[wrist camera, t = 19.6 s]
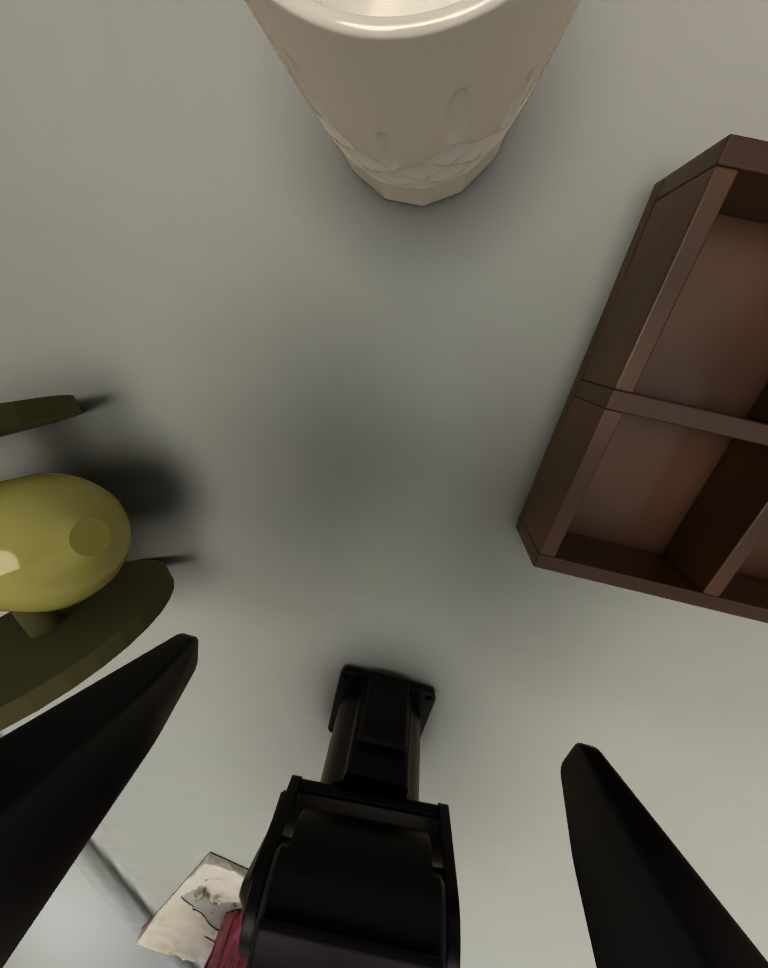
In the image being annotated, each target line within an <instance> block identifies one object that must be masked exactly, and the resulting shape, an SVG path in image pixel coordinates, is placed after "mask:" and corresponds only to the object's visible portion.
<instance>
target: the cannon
mask: <svg viewBox="0 0 768 968" xmlns="http://www.w3.org/2000/svg"><path fill="white" fill-rule="evenodd" d="M82 413H83V412H82V410H81V409H80V407H79V405H78V403H77V401H76V399H75V398H74V396H73V395H60V396H50V397H41V398H34V399H27V400H20V401H13V402H7V403H1V404H0V437H1V436H5V435H9V434H13V433H17V432H20V431H24V430H28V429H32V428H35V427H39V426H43V425H46V424H50V423H54V422H57V421H61V420H64V419H68V418H71V417H74V416H77V415H80V414H82ZM131 541H132V529H131V525H130V520H129V518H128V515H127V513H126V511H125V509H124V508H123V506H122V505H121V503H120V502H119V501H118V500H117V499H116V498H115V497H114V496H113V495H112V494H111V493H109V492H108V491H106V490H105V489H103V488H102V487H100V486H99V485H97V484H96V483H94V482H91V481H89V480H87V479H85V478H82V477H78V476H74V475H70V474H63V473H42V474H33V475H29V476H24V477H19V478H15V479H10V480H5V481H0V611H10V612H9V613H7V614H5V615H3V616H2V617H0V731H1V730H3V729H5V728H7V727H8V726H10V725H12V724H14V723H16V722H18V721H20V720H21V719H23V718H25V717H27V716H29V715H31V714H32V713H34V712H36V711H38V710H39V709H41V708H43V707H44V706H46V705H47V704H49V703H51V702H52V701H54V700H55V699H57V698H59V697H60V696H62V695H63V694H65V693H67V692H68V691H70V690H71V689H73V688H74V687H76V686H77V685H78V684H80V683H81V682H83V681H84V680H85V679H87V678H88V677H90V676H91V675H92V674H94V673H95V672H97V671H98V670H99V669H101V668H102V667H103V666H105V665H106V664H107V663H108V662H110V661H111V660H112V659H113V658H115V657H116V656H117V655H118V654H119V653H121V652H122V651H123V650H124V649H126V648H127V647H128V646H129V645H130V644H131V643H132V642H133V641H134V640H135V639H136V638H137V637H138V636H140V635H141V634H142V633H143V632H144V631H145V630H146V629H147V628H148V627H149V626H150V624H151V623H152V622H153V621H154V620H155V619H156V618H157V616H158V615H159V614H160V613H161V612H162V610H163V609H164V607H165V606H166V604H167V602H168V601H169V599H170V597H171V595H172V592H173V589H174V580H173V578H172V576H171V574H170V572H169V570H168V569H167V567H166V566H165V564H164V563H162V562H160V561H157V560H138V561H131V562H127V563H125V561H126V559H127V556H128V554H129V551H130V547H131Z"/></svg>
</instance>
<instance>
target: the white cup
mask: <svg viewBox="0 0 768 968" xmlns="http://www.w3.org/2000/svg"><path fill="white" fill-rule="evenodd" d="M245 2H246V4H247V5H248V7H249V9H250V10H251V12H252V13H253V15H254V17H255V18H256V20H257V22H258V23H259V25H260V27H261V28H262V30H263V31H264V33H265V35H266V36H267V38H268V40H269V41H270V43H271V45H272V46H273V48H274V50H275V51H276V53H277V55H278V56H279V58H280V59H281V61H282V63H283V64H284V66H285V68H286V69H287V71H288V73H289V74H290V76H291V78H292V79H293V81H294V82H295V84H296V86H297V87H298V89H299V91H300V92H301V94H302V95H303V97H304V99H305V100H306V102H307V103H308V104H309V106H310V107H311V108H312V110H313V111H314V113H315V114H316V116H317V118H318V119H319V121H320V122H321V124H322V126H323V127H324V129H325V130H326V132H327V133H328V135H329V136H330V137H331V138H332V140H333V141H334V142H335V144H336V145H337V146H338V147H339V149H340V150H341V151H342V152H343V154H344V155H345V157H346V159H347V161H348V163H349V164H350V166H351V168H352V170H353V171H354V172H355V173H356V174H357V175H358V176H359V177H360V178H362V179H363V180H364V181H365V182H366V183H367V184H368V185H370V186H371V187H372V188H373V189H374V190H375V191H377V192H378V193H379V194H380V195H381V196H382V197H383V198H385V199H388V200H393V201H398V202H403V203H409V204H414V205H419V206H425V205H427V204H430V203H433V202H436V201H438V200H441V199H444V198H447V197H450V196H452V195H455V194H458V193H461V192H462V191H463V190H464V189H465V188H466V187H467V186H468V185H469V184H470V183H471V182H472V181H473V180H474V179H475V178H476V177H477V176H478V175H479V174H480V173H481V172H482V171H483V170H484V169H485V168H486V167H487V166H488V164H489V163H490V162H491V161H492V160H493V159H494V158H495V157H496V155H497V153H498V151H499V148H500V146H501V144H502V142H503V140H504V137H505V135H506V133H507V131H508V129H509V128H510V127H511V125H512V124H513V122H514V121H515V119H516V118H517V116H518V115H519V113H520V112H521V110H522V109H523V107H524V105H525V104H526V102H527V100H528V98H529V96H530V94H531V93H532V91H533V89H534V87H535V85H536V83H537V82H538V80H539V78H540V76H541V74H542V72H543V70H544V68H545V66H546V65H547V63H548V61H549V59H550V58H551V56H552V54H553V52H554V51H555V49H556V47H557V45H558V43H559V42H560V40H561V38H562V36H563V34H564V32H565V30H566V28H567V26H568V24H569V22H570V20H571V18H572V16H573V14H574V12H575V10H576V8H577V6H578V4H579V2H580V0H245Z"/></svg>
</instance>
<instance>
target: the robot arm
mask: <svg viewBox="0 0 768 968" xmlns="http://www.w3.org/2000/svg"><path fill="white" fill-rule="evenodd" d="M197 661H198V639H197V637H195V636H191V635H187V634H183V633H181V634H178V635H176V636H174V637H172V638H170V639H169V640H167V641H165V642H164V643H162V644H160V645H158V646H157V647H155V648H153V649H152V650H150V651H148V652H147V653H145V654H143V655H141V656H140V657H138V658H136V659H135V660H133V661H131V662H129V663H128V664H126V665H124V666H123V667H121V668H119V669H118V670H116V671H114V672H112V673H111V674H109V675H107V676H106V677H104V678H102V679H100V680H99V681H97V682H95V683H94V684H92V685H90V686H88V687H87V688H85V689H83V690H82V691H80V692H78V693H77V694H75V695H73V696H71V697H70V698H68V699H66V700H65V701H63V702H61V703H59V704H58V705H56V706H54V707H53V708H51V709H49V710H48V711H46V712H44V713H42V714H41V715H39V716H37V717H36V718H34V719H32V720H30V721H29V722H27V723H25V724H24V725H22V726H20V727H18V728H17V729H15V730H13V731H12V732H10V733H8V734H7V735H5V736H3V737H1V738H0V968H3V966H4V965H5V963H6V962H7V960H8V959H9V957H10V956H11V954H12V953H13V951H14V950H15V948H16V947H17V945H18V944H19V942H20V941H21V939H22V938H23V937H24V935H25V934H26V932H27V931H28V929H29V928H30V926H31V925H32V923H33V921H34V920H35V919H36V917H37V916H38V914H39V913H40V911H41V910H42V909H43V907H44V905H45V904H46V903H47V901H48V900H49V898H50V897H51V895H52V893H53V892H54V891H55V889H56V888H57V886H58V885H59V883H60V882H61V880H62V879H63V878H64V876H65V875H66V873H67V872H68V870H69V868H70V867H71V866H72V864H73V863H74V861H75V860H76V858H77V857H78V855H79V854H80V852H81V851H82V850H83V848H84V847H85V845H86V844H87V842H88V841H89V839H90V838H91V836H92V835H93V833H94V832H95V830H96V829H97V827H98V826H99V824H100V823H101V821H102V820H103V819H104V817H105V816H106V814H107V813H108V811H109V810H110V808H111V807H112V805H113V804H114V802H115V801H116V799H117V798H118V796H119V795H120V793H121V792H122V790H123V789H124V788H125V786H126V785H127V783H128V782H129V780H130V779H131V777H132V776H133V774H134V773H135V771H136V770H137V768H138V767H139V765H140V764H141V762H142V761H143V759H144V758H145V757H146V755H147V754H148V752H149V750H150V749H151V747H152V746H153V744H154V743H155V741H156V739H157V738H158V736H159V734H160V732H161V731H162V729H163V727H164V725H165V723H166V722H167V720H168V718H169V716H170V714H171V713H172V711H173V709H174V707H175V705H176V704H177V702H178V700H179V698H180V696H181V695H182V693H183V691H184V689H185V687H186V686H187V684H188V682H189V680H190V678H191V677H192V675H193V673H194V671H195V669H196V666H197ZM434 701H435V690H434V689H433V688H431V687H428V686H424V685H420V684H416V683H412V682H408V681H404V680H400V679H396V678H392V677H388V676H385V675H381V674H377V673H373V672H369V671H365V670H361V669H357V668H353V667H348V666H346V667H343V668H342V670H341V673H340V677H339V682H338V686H337V691H336V695H335V699H334V704H333V708H332V713H331V717H330V722H329V726H328V729H329V731H330V732H332V736H331V740H330V745H329V749H328V753H327V757H326V761H325V765H324V769H323V773H322V777H321V781H320V782H317V781H311V780H306V779H302V776H296V775H292V778H291V780H290V783H289V785H288V788H287V790H284V791H283V792H281V794H280V797H279V800H278V804H277V807H276V810H275V813H274V816H273V819H272V822H271V824H270V827H269V829H268V832H267V834H266V836H265V838H264V840H263V842H262V844H261V846H260V848H259V850H258V852H257V854H256V856H255V858H254V860H253V862H252V863H251V865H250V867H249V869H248V871H247V873H246V875H245V877H244V879H243V882H242V885H241V888H240V892H239V899H240V902H241V905H242V909H243V915H242V923H241V932H240V937H239V945H238V955H239V957H241V958H245V959H248V962H247V966H246V968H460V909H459V897H458V887H457V878H456V869H455V860H454V851H453V842H452V833H451V824H450V815H449V806H448V805H447V804H442V803H438V805H436V804H430V803H425V802H420V801H419V762H420V737H421V734H422V732H423V729H424V727H425V724H426V722H427V719H428V717H429V714H430V712H431V709H432V707H433V704H434ZM561 780H562V787H563V794H564V801H565V808H566V815H567V823H568V830H569V837H570V844H571V850H572V856H573V862H574V867H575V872H576V877H577V881H578V886H579V890H580V895H581V899H582V904H583V908H584V913H585V917H586V922H587V926H588V931H589V935H590V940H591V944H592V949H593V953H594V958H595V962H596V967H597V968H768V962H767V960H766V959H765V958H764V957H763V955H762V954H761V953H760V952H759V950H758V949H757V948H756V947H755V945H754V944H753V943H752V942H751V940H750V939H749V938H748V936H747V935H746V934H745V933H744V931H743V930H742V929H741V928H740V926H739V925H738V924H737V923H736V921H735V920H734V919H733V918H732V916H731V915H730V914H729V913H728V911H727V910H726V909H725V908H724V906H723V905H722V904H721V903H720V901H719V900H718V899H717V898H716V896H715V895H714V894H713V893H712V891H711V890H710V889H709V887H708V886H707V885H706V884H705V882H704V881H703V880H702V879H701V877H700V876H699V875H698V874H697V872H696V871H695V870H694V869H693V867H692V866H691V865H690V864H689V862H688V861H687V860H686V859H685V857H684V856H683V855H682V854H681V852H680V851H679V850H678V849H677V847H676V846H675V845H674V844H673V842H672V841H671V840H670V838H669V837H668V836H667V835H666V833H665V832H664V831H663V830H662V828H661V827H660V826H659V825H658V823H657V822H656V821H655V820H654V818H653V817H652V816H651V815H650V813H649V812H648V811H647V810H646V808H645V807H644V806H643V805H642V803H641V802H640V801H639V800H638V798H637V797H636V796H635V795H634V793H633V792H632V791H631V789H630V788H629V787H628V786H627V784H626V783H625V782H624V781H623V779H622V778H621V777H620V776H619V774H618V773H617V772H616V771H615V769H614V768H613V767H612V766H611V764H610V763H609V762H608V761H607V759H606V758H605V757H604V756H603V754H602V753H601V752H600V751H599V750H598V749H597V748H595V747H593V746H590V745H586V744H583V743H577V744H575V745H574V747H573V748H572V750H571V751H570V752H569V754H568V755H567V757H566V758H565V759H564V761H563V763H562V766H561Z"/></svg>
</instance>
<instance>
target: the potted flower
mask: <svg viewBox="0 0 768 968" xmlns="http://www.w3.org/2000/svg"><path fill="white" fill-rule="evenodd" d="M247 871H248V870H247V869H245V868H242V867H240V866H238V865H236V864H234V863H231V862H229V861H227V860H225V859H223V858H220V857H218V856H216V855H214V854H212V853H209V855H208V856H207V857H206V858H205V859H204V860H203V861H202V862H201V864H200V865H199V866H198V867H197V868H196V869H195V870H194V871H193V873H192V874H191V875H190V876H189V877H188V878H187V879H186V880H185V881H184V883H183V884H182V885H181V886H180V887H179V888H178V890H177V891H176V892H175V893H174V894H173V895H172V896H171V897H170V899H169V900H168V901H167V904H164V905H163V906H162V907H161V908H160V910H159V911H158V912H157V913H156V914H155V915H154V916H153V917H152V919H151V920H150V921H149V922H148V923H147V924H146V926H145V927H144V928H143V929H142V930H141V932H140V935H139V936H138V939H137V941H136V944H139V945H142V946H144V947H147V948H149V949H152V950H154V951H158V952H161V953H164V954H170V955H176V956H179V957H180V958H181V959H182V961H184V960H189V961H191V962H197V961H198V962H203V963H205V966H204V968H246V966H247V962H248V959H245V958H241V957H239V955H238V945H239V937H240V932H241V923H242V915H243V909H241V911H239V910H235V911H234V912H230V913H226V914H225V916H224V919H223V921H222V924H221V927H220V929H219V931H217V930H215V929H214V928H212V927H211V926H210V925H209V924H208V922H207V921H206V919H205V918H204V917H203V916H202V914H200V913H199V912H197V911H196V910H192V908H193V907H192V906H191V905H189V904H188V903H186V902H185V901H184V900H183V899H182V898H181V896H184V895H186V893H190V892H191V891H195V892H194V895H195V897H196V902H197V901H198V900H200V899H205V900H206V901H208V902H210V903H211V904H213V905H217V904H218V905H220V904H221V903H222V902H233V903H234V902H236V903H241V902H240V899H239V892H240V888H241V885H242V882H243V879H244V877H245V875H246V873H247ZM231 907H232V908H233V909H236V907H235V905H234V904H233V906H231ZM211 914H213V913H212V912H211ZM204 936H207V937H209V938H211V939H212V940H214V943H215V944H214V943H213V942H212V941H210V940H209V939H207V938H206V937H204Z"/></svg>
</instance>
